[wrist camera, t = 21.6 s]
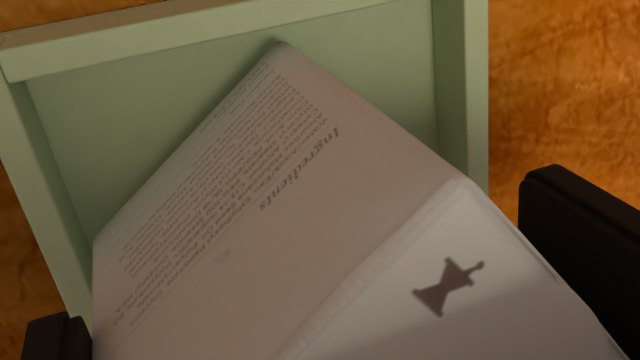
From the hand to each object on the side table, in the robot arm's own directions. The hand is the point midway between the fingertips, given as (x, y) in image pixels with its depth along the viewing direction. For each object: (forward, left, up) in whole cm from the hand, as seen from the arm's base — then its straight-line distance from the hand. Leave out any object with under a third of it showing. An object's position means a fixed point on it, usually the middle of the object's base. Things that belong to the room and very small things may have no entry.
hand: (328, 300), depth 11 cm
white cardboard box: (0, 0, -4) cm, 4 cm away
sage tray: (0, 0, -5) cm, 5 cm away
